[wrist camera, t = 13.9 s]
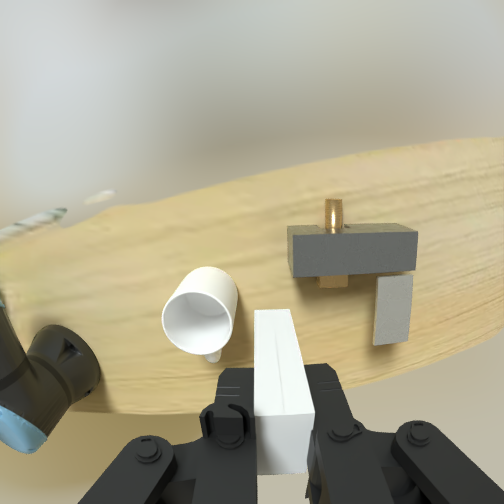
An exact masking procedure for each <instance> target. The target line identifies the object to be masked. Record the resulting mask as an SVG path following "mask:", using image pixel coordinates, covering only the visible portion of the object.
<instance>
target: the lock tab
mask: <svg viewBox="0 0 504 504" xmlns="http://www.w3.org/2000/svg"><path fill="white" fill-rule="evenodd" d="M412 287H413V275H412V274H403V275H390V276H376V300H375V318H374V332H373V343H372V344H373V345H374V346H376V345H383V344H391V343H398V342H404V341H408V333H409V324H410V314H411V302H412Z"/></svg>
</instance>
